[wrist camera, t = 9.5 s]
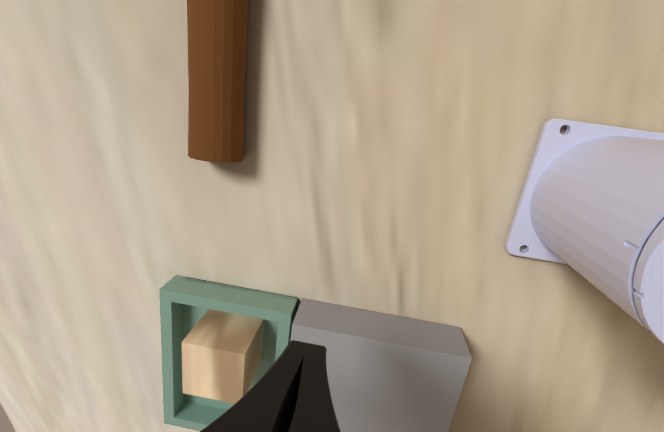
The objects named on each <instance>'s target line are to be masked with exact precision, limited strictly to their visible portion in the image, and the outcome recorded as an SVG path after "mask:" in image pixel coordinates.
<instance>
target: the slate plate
mask: <svg viewBox="0 0 664 432" xmlns="http://www.w3.org/2000/svg"><path fill="white" fill-rule="evenodd" d="M292 340H295V341H300V342H305V343H311V344H316V345H321V346H325V348H326V349H327V351H326V368H327V377H328V383H329V389H330V394H331V399H332V403H333V407H334V411H335V415H336V418H337V422H338V425H339V428H340V431H341V432H449V428H450V425H451V422H452V419H453V416H454V413H455V410H456V407H457V404H458V401H459V398H460V395H461V392H462V389H463V386H464V382H465V379H466V376H467V373H468V370H469V367H470V364H471V361H472V356H471V354H470V351H469V348H468V346H467V343H466V341H465V338H464V335H463V333H462V330H461V328H460V327H454V326H449V325H444V324H438V323H433V322H427V321H422V320H416V319H411V318H406V317H400V316H395V315H389V314H384V313H378V312H373V311H368V310H362V309H357V308H351V307H346V306H341V305H335V304H330V303H324V302H319V301H313V300H308V299H303V298H302V300H301V303H300V305H299V308H298V310H297V313H296V316H295V318H294V321H293V324H292V331H291V340H290V341H292Z"/></svg>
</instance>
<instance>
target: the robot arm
mask: <svg viewBox="0 0 664 432" xmlns="http://www.w3.org/2000/svg"><path fill="white" fill-rule="evenodd" d="M563 125H566V127H567V129H566V131H565V133H563V134H561V133H560V128H561V127H562V126H563ZM523 245H526V248H525V249H524V250H523V251H520V247H521V246H523ZM505 249H506V251H507V252H508V253H509V254H511V255H516V256H522V257H527V258H533V259H539V260H545V261H551V262H557V263H563V264H569V265H570V266H571V267H572V268H573V269H575V270H576V271H577V272H578V273H579V274H581V275H582V276H583V277H584V278H585V279H587V280H588V281H589V282H590V283H591V284H593V285H594V286H595V287H596V288H597V289H599V290H600V291H601V292H602V293H603V294H605V295H606V296H607V297H608V298H609V299H611V300H612V301H613V302H614V303H615V304H617V305H618V306H619V307H620V308H621V309H623V310H624V311H625V312H626V313H627V314H629V315H630V316H631V317H632V318H634V319H635V320H636V321H637V322H638V323H640V324H641V325H642V326H643V327H644V328H646V329H647V330H648V331H649V332H650V333H652V334H653V335H654V336H655V337H656V338H657V339H658V340H660V341H661V342H662V343H663V344H664V133H658V132H651V131H643V130H636V129H629V128H622V127H614V126H607V125H600V124H593V123H585V122H578V121H571V120H563V119H550V120H548V121H547V122H545V123H544V125H543V127H542V131H541V134H540V137H539V140H538V143H537V146H536V149H535V152H534V156H533V159H532V162H531V165H530V168H529V171H528V174H527V177H526V180H525V184H524V187H523V190H522V193H521V196H520V199H519V202H518V205H517V208H516V212H515V215H514V218H513V221H512V224H511V227H510V230H509V233H508V236H507V240H506V243H505ZM326 351H327V349H326V348H325V346H321V345H316V344H311V343H305V342H300V341H295V340H292V341H290V342H289V343H288V345H287V347H286V348H285V350H284V351H283V352H282V354H281V355H280V356H279V358H278V359H277V360H276V361H275V363H274V364H273V365H272V366H271V367H270V368H269V370H268V371H267V372H266V373H265V374H264V375H263V377H262V378H261V379H260V380H259V381H258V382H257V383H256V384H255V385H254V386H253V387H252V388H251V389H250V390H249V391H248V392H247V393H246V394H245V395H244V396H243V397H242V398H241V399H240V400H239V401H237V402H236V403H235V404H234V405H233V406H232V407H231V408H229V409H228V410H227V411H226V412H225V413H224V414H222V415H221V416H220V417H219V418H217V419H216V420H215V421H213V422H212V423H211V424H210V425H208V426H207V427H206V428H204V429H203V430H201V431H200V432H341V431H340V428H339V425H338V422H337V418H336V415H335V411H334V407H333V403H332V399H331V394H330V389H329V383H328V377H327V368H326Z"/></svg>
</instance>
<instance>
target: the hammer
mask: <svg viewBox="0 0 664 432" xmlns="http://www.w3.org/2000/svg"><path fill="white" fill-rule="evenodd" d="M187 18H188V69H189V133H188V156H189V157H190V158H193V159H197V160H202V161H210V162H238V161H242V160H243V159H244V102H245V73H246V48H247V23H248V0H187Z"/></svg>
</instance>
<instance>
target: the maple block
mask: <svg viewBox="0 0 664 432" xmlns="http://www.w3.org/2000/svg"><path fill="white" fill-rule="evenodd" d="M264 323H265V319H259V318H254V317H249V316H244V315H238V314H233V313H228V312H223V311H217V310H212V309H208V311H207V312H206V313H205V314H204V316H203V317H202V318H201V319H200V320H199V322H198V323H197V324H196V325H195V327H194V328H193V329H192V330H191V331H190V333H189V334H188V335H187V336H186V338H185V339H184V340H183V341H182V387H183V393H185V394H189V395H194V396H199V397H204V398H209V399H214V400H219V401H224V402H229V403H234V404H235V403H236V402H237V401H239V400H240V399H241V398H242V397H243V396H244V395H245V394H246V393H247V392H248V391H249V389H250V387H251V384H252V382H253V380H254V378H255V375H256V373H257V371H258V369H259V366H260V364H261V362H262V351H263V337H264Z"/></svg>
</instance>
